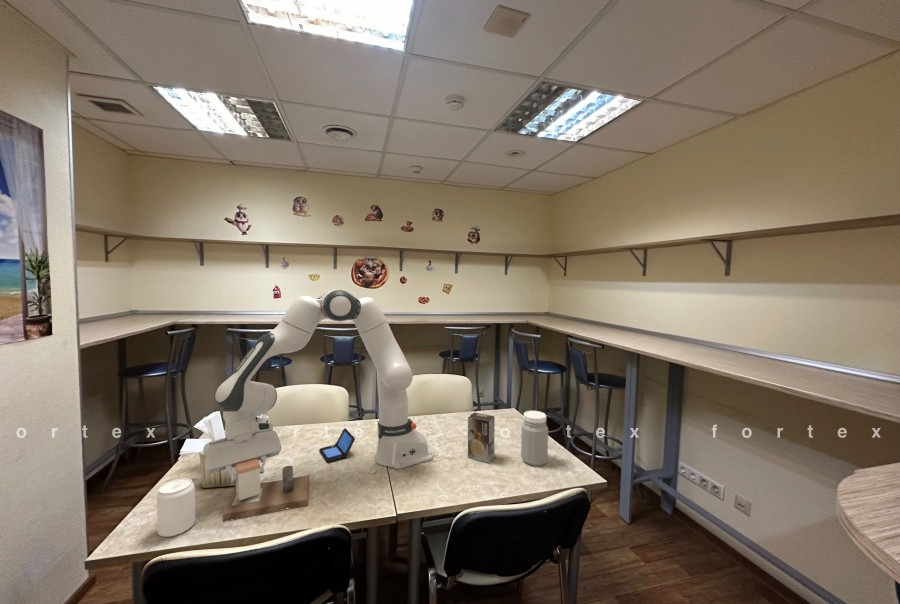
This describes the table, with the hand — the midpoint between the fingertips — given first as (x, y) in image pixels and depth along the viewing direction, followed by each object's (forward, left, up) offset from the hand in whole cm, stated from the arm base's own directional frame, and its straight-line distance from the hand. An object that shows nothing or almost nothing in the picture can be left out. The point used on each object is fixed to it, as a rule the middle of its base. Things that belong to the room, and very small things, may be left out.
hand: (248, 477), depth 106 cm
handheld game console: (-26, -25, -9) cm, 37 cm away
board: (-6, -1, -8) cm, 10 cm away
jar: (-97, +5, -9) cm, 97 cm away
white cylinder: (+16, +5, -9) cm, 19 cm away
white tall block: (0, -1, -5) cm, 5 cm away
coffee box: (-79, -4, -9) cm, 79 cm away
